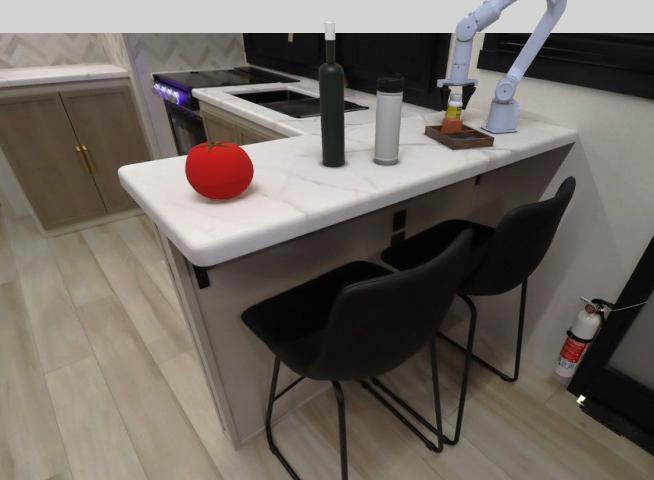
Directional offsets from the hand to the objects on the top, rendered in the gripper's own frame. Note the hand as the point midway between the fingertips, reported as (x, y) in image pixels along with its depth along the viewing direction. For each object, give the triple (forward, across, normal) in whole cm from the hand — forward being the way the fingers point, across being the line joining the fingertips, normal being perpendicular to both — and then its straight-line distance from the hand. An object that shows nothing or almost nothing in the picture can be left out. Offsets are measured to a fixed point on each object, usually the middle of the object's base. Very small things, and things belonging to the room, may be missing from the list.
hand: (453, 110), depth 131 cm
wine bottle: (+5, +52, +28) cm, 59 cm away
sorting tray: (+5, +8, +17) cm, 19 cm away
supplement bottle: (+5, 0, 0) cm, 5 cm away
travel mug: (+5, +38, +30) cm, 49 cm away
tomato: (+5, +80, +41) cm, 90 cm away
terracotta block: (+4, +8, +13) cm, 16 cm away
